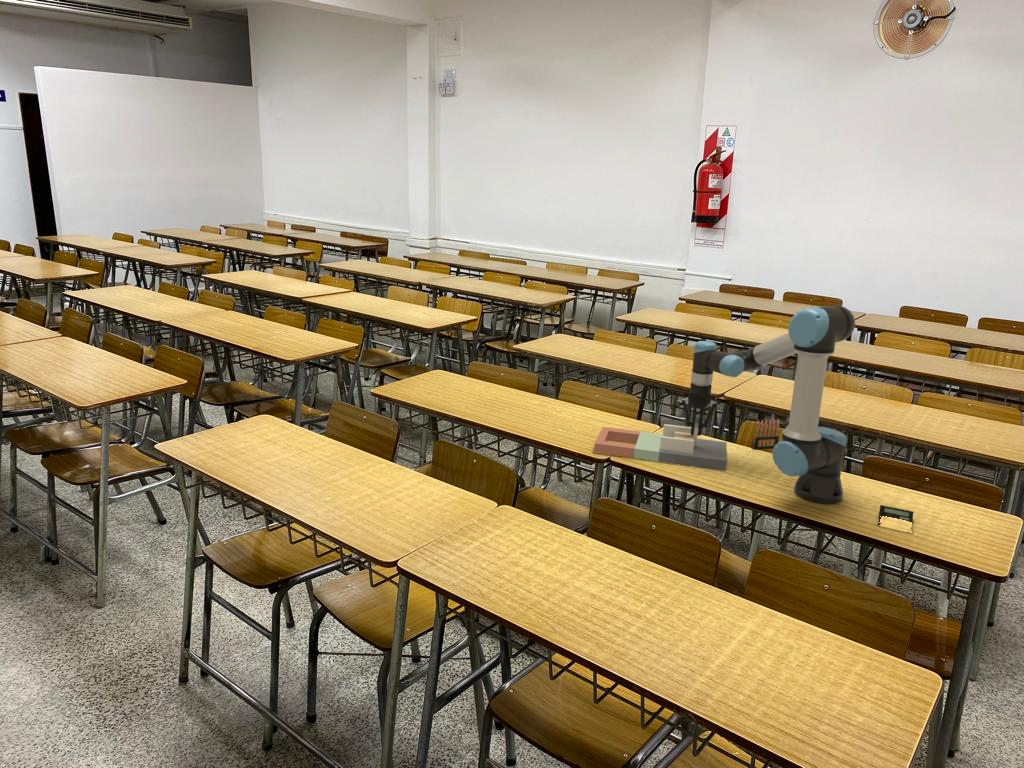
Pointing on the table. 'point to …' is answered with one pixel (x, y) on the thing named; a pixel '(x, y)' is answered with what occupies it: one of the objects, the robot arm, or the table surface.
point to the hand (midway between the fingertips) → (694, 443)
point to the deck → (663, 447)
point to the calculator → (895, 513)
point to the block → (683, 435)
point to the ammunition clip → (765, 435)
